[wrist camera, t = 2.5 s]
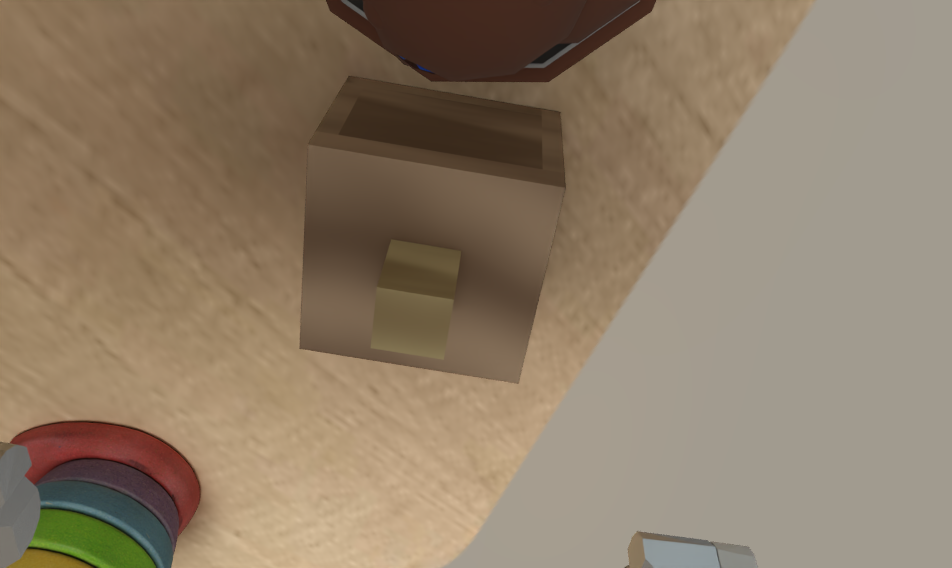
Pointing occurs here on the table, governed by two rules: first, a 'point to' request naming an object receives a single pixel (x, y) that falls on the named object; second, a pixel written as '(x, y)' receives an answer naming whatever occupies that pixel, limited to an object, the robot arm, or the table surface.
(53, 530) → the stacking bear
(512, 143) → the walnut box
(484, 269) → the lid
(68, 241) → the table surface
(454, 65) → the ice cream bowl
